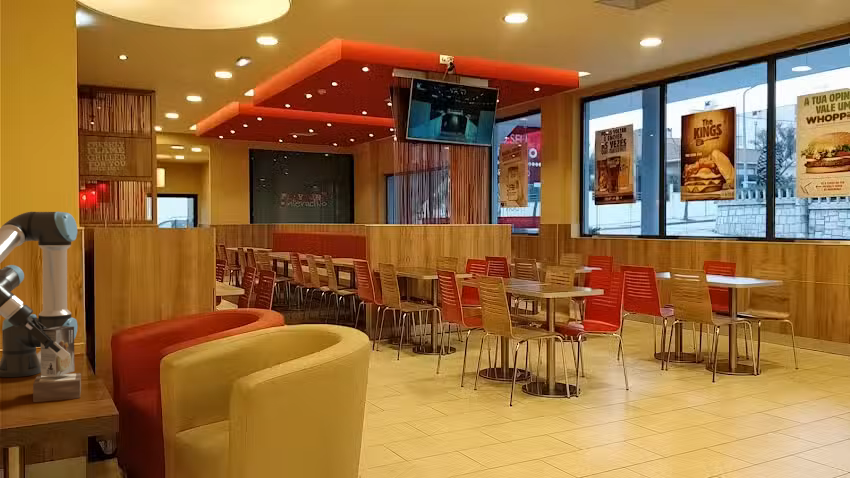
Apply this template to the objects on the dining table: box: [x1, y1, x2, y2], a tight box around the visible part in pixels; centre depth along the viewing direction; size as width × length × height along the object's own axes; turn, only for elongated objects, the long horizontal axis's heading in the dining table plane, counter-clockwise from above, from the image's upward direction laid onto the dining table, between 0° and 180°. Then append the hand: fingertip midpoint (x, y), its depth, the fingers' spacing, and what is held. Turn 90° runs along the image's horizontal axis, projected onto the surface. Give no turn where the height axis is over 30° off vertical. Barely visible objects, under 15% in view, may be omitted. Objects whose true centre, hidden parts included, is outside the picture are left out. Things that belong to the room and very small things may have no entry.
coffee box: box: [40, 326, 75, 377], centre depth 240 cm, size 9×6×16 cm
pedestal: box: [32, 372, 82, 403], centre depth 240 cm, size 14×14×6 cm
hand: (67, 354), depth 241 cm, fingers closed on coffee box, 10 cm apart
